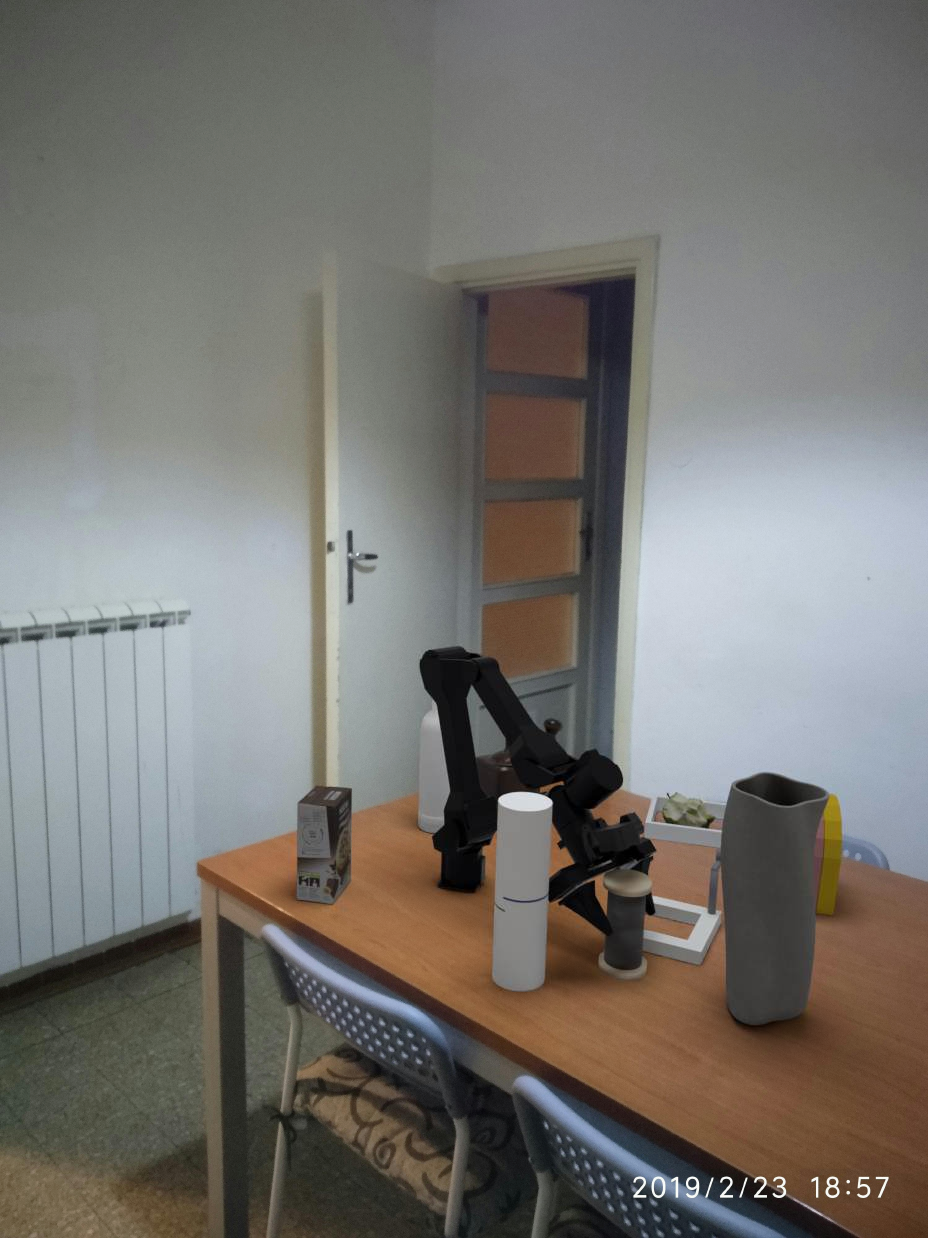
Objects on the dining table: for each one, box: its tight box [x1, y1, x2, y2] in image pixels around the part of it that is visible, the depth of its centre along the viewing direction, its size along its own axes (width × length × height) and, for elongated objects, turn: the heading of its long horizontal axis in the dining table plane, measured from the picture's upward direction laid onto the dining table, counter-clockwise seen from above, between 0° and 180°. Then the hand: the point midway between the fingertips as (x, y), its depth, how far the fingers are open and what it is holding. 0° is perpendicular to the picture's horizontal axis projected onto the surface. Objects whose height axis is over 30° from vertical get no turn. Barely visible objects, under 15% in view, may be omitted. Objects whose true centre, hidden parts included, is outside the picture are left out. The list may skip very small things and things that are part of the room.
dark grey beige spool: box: [598, 869, 653, 981], centre depth 131 cm, size 7×7×13 cm
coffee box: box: [296, 785, 353, 905], centre depth 152 cm, size 9×6×16 cm
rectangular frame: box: [643, 848, 722, 966], centre depth 142 cm, size 14×16×11 cm
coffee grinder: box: [476, 717, 563, 814], centre depth 193 cm, size 16×11×18 cm
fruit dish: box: [643, 794, 727, 849], centre depth 183 cm, size 16×16×3 cm
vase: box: [720, 771, 830, 1026], centre depth 120 cm, size 12×12×30 cm
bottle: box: [417, 698, 450, 835], centre depth 178 cm, size 8×8×30 cm
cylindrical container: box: [491, 792, 553, 992], centre depth 127 cm, size 7×7×25 cm
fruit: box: [662, 791, 716, 829], centre depth 182 cm, size 9×9×8 cm
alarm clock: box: [813, 793, 843, 916], centre depth 154 cm, size 15×8×18 cm, turn 168°
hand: (632, 924), depth 130 cm, fingers open, 9 cm apart
